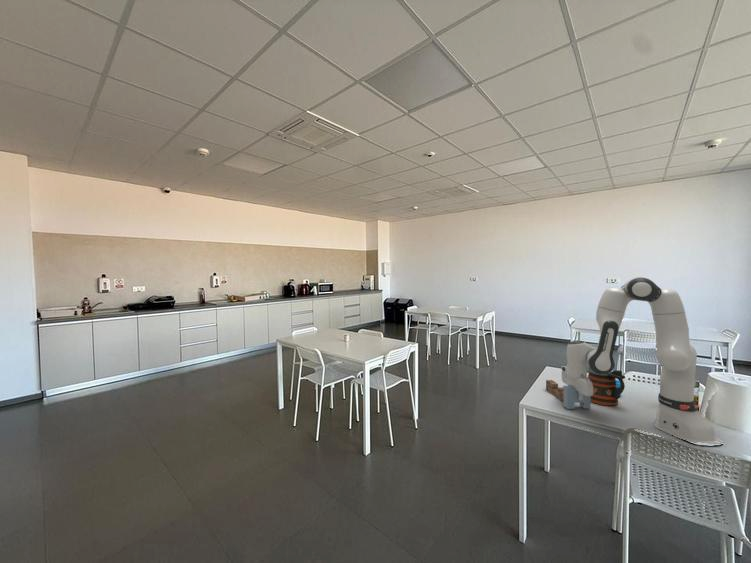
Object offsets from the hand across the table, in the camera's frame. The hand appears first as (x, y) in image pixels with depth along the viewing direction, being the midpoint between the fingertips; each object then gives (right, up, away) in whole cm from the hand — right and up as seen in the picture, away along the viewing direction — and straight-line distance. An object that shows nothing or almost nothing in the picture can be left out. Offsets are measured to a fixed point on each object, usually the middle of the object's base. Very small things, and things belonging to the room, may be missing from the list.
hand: (576, 397), depth 161 cm
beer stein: (+20, -5, +6) cm, 22 cm away
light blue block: (0, -5, 0) cm, 5 cm away
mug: (+32, -5, +16) cm, 36 cm away
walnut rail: (-1, -5, +16) cm, 16 cm away
